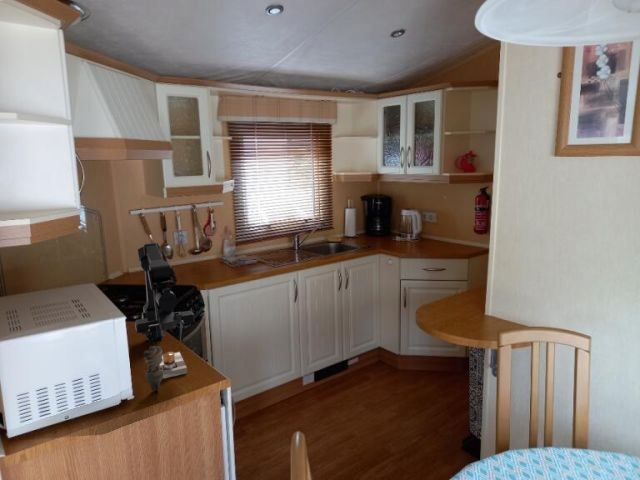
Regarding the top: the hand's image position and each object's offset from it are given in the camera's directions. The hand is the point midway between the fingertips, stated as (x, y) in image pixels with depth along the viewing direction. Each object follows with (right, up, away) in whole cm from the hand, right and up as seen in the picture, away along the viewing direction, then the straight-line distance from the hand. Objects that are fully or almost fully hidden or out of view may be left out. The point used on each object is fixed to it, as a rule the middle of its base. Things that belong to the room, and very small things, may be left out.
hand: (167, 345), depth 154 cm
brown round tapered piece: (0, -10, +2) cm, 10 cm away
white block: (-1, -9, +5) cm, 10 cm away
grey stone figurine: (0, -12, -10) cm, 16 cm away
